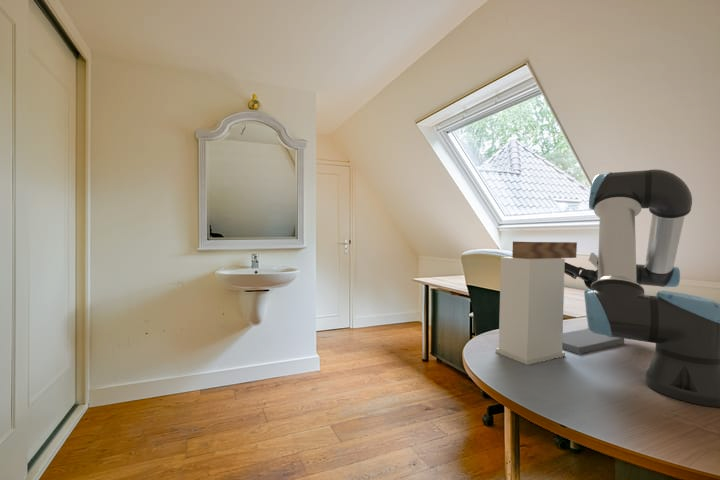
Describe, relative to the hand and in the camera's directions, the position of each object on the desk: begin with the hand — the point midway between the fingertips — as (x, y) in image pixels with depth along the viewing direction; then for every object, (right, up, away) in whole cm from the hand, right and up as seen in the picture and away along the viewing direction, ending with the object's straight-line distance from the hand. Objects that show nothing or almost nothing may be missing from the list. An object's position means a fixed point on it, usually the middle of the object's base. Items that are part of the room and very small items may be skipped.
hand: (569, 255), depth 112 cm
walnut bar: (-12, -1, -6) cm, 13 cm away
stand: (-18, -30, -8) cm, 36 cm away
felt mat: (+7, -31, +4) cm, 32 cm away
